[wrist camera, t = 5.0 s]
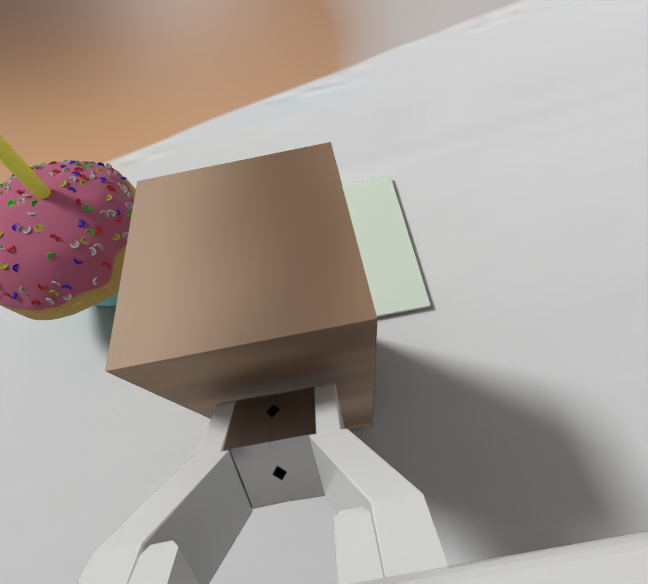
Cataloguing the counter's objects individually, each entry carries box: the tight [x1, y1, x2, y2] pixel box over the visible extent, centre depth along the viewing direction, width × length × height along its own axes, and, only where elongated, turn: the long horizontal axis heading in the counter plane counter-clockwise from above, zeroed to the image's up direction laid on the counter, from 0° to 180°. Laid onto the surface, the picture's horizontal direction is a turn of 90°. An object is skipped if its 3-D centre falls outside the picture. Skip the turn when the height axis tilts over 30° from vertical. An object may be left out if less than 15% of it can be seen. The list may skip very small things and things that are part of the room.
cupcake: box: [0, 136, 136, 320], centre depth 16 cm, size 9×8×12 cm
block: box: [105, 142, 377, 430], centre depth 13 cm, size 5×5×12 cm
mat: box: [342, 176, 430, 317], centre depth 21 cm, size 14×9×1 cm, turn 100°
